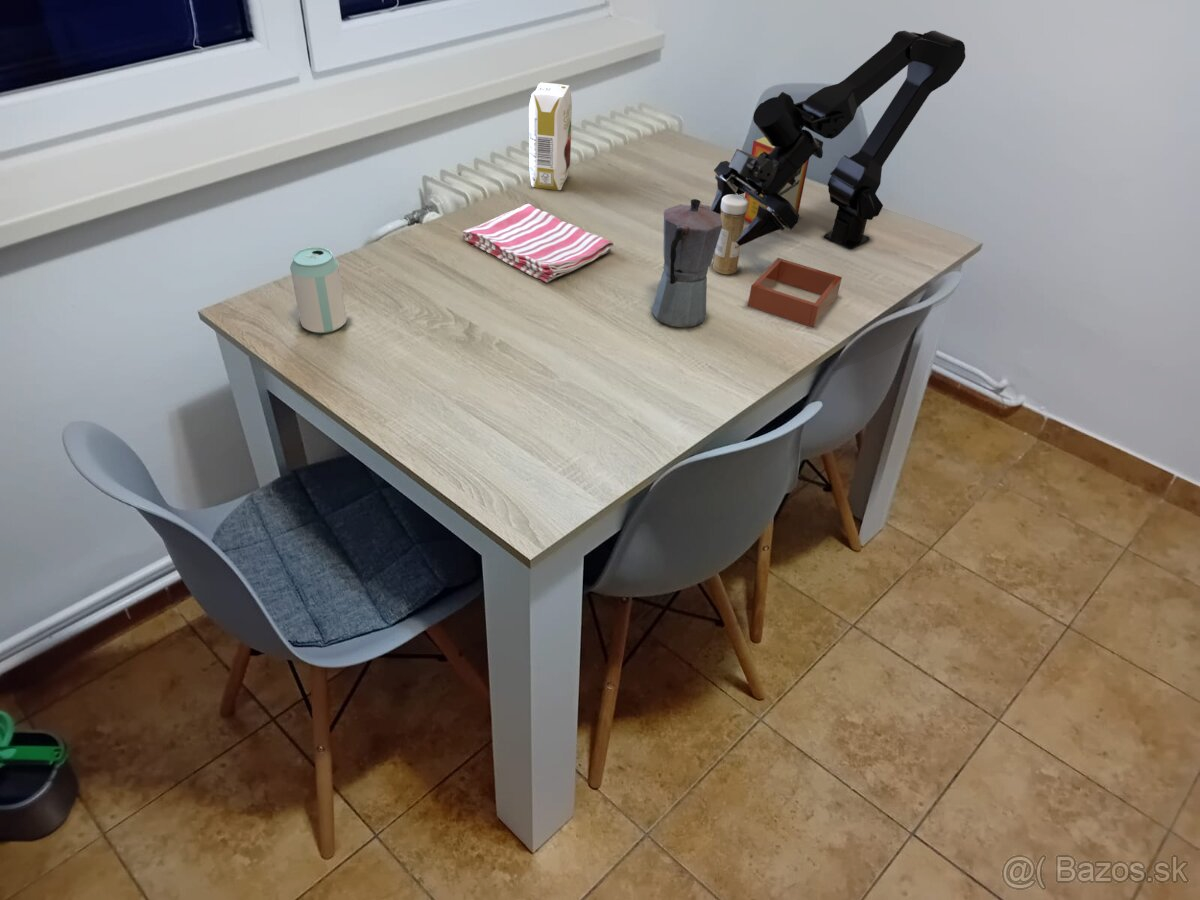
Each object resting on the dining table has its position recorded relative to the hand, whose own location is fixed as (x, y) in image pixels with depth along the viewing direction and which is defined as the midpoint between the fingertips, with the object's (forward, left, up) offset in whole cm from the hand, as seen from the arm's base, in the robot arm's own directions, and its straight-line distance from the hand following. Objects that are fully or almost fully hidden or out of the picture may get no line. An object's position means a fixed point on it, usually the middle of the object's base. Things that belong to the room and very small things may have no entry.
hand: (722, 232), depth 158 cm
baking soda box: (-24, -8, -8) cm, 27 cm away
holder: (-2, +15, -7) cm, 17 cm away
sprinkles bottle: (-2, 0, -8) cm, 8 cm away
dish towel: (+20, -27, -8) cm, 34 cm away
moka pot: (+17, +6, -8) cm, 19 cm away
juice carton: (0, -47, -8) cm, 47 cm away
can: (+63, -28, -8) cm, 69 cm away
